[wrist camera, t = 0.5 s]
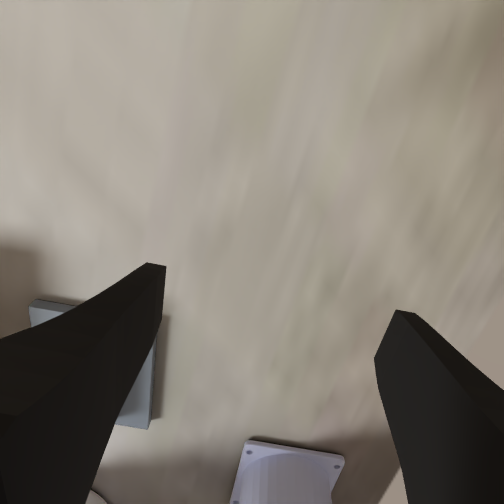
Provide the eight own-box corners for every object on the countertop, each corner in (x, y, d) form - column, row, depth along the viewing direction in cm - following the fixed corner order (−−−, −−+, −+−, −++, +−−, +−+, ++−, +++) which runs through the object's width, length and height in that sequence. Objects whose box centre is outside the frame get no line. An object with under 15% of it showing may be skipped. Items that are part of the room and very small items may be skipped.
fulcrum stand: (150, 420, 30) (137, 459, 27) (48, 403, 30) (24, 441, 27) (157, 320, 25) (142, 355, 22) (35, 299, 25) (4, 331, 22)
